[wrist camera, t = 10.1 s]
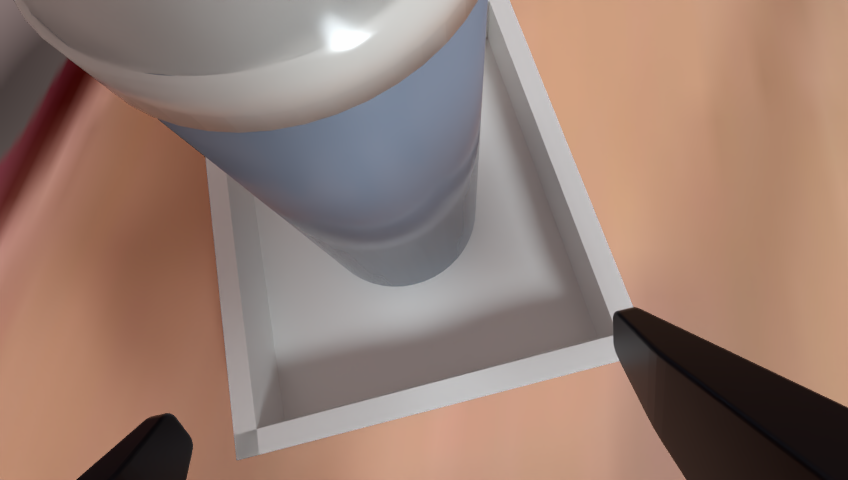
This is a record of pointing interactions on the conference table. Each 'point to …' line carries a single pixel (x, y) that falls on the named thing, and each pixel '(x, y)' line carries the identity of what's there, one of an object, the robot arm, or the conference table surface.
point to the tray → (421, 287)
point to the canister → (310, 109)
